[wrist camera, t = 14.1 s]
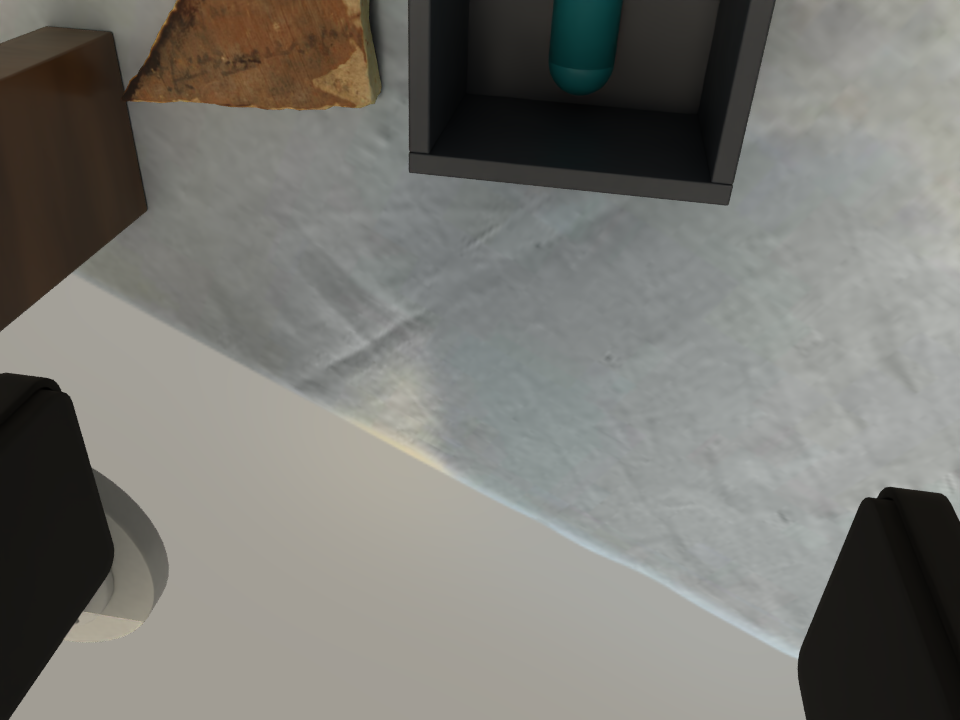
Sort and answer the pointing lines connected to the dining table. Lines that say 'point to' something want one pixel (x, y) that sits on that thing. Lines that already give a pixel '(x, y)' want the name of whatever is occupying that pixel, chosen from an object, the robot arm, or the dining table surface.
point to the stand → (60, 160)
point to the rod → (583, 43)
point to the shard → (262, 55)
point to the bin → (586, 97)
